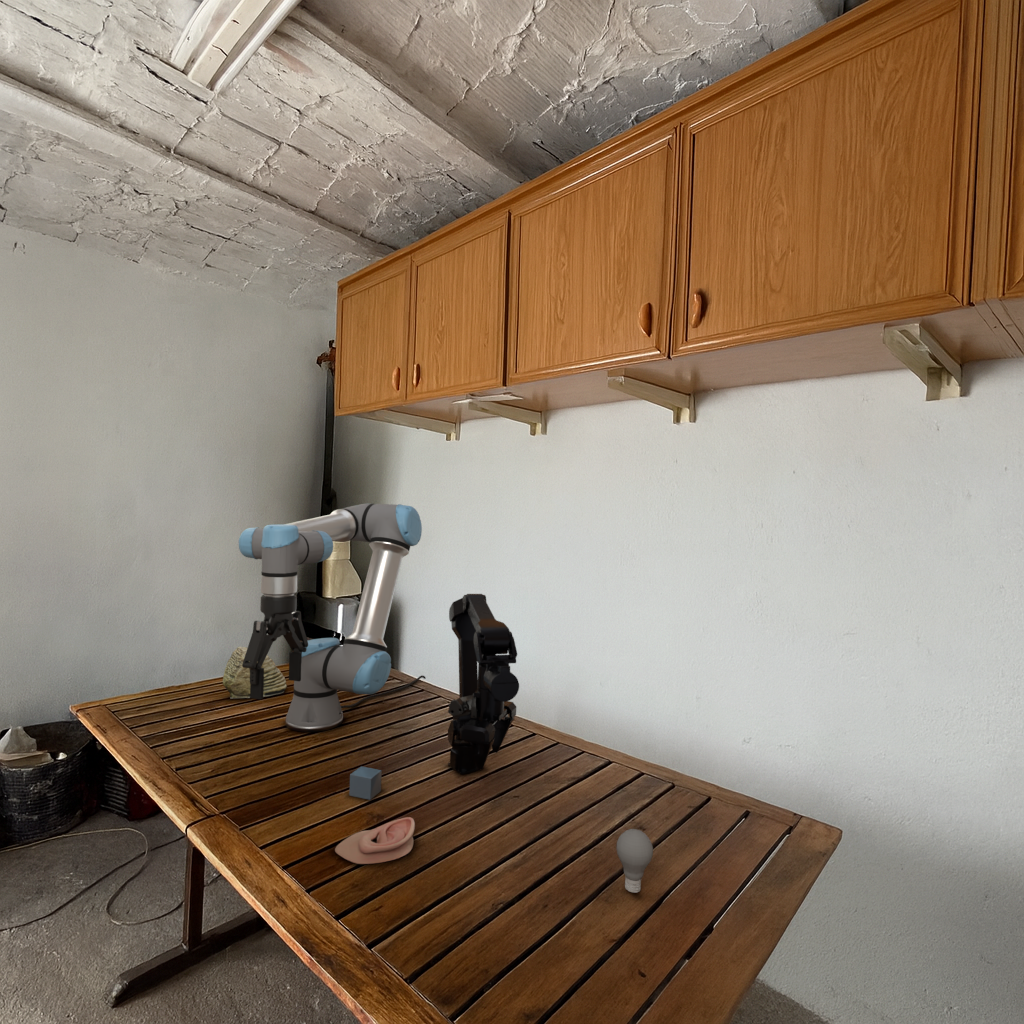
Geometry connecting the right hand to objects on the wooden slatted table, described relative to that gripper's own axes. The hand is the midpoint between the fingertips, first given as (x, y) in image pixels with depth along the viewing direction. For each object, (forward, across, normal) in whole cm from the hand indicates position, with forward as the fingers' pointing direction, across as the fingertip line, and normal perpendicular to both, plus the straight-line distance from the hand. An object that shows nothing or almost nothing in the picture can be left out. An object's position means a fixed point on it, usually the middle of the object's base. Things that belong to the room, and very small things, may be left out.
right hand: (487, 760), depth 132 cm
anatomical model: (+10, +22, -13) cm, 28 cm away
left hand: (-10, +6, -48) cm, 50 cm away
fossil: (+10, -39, -92) cm, 100 cm away
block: (+10, +4, -26) cm, 28 cm away
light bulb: (+10, +18, +33) cm, 38 cm away
